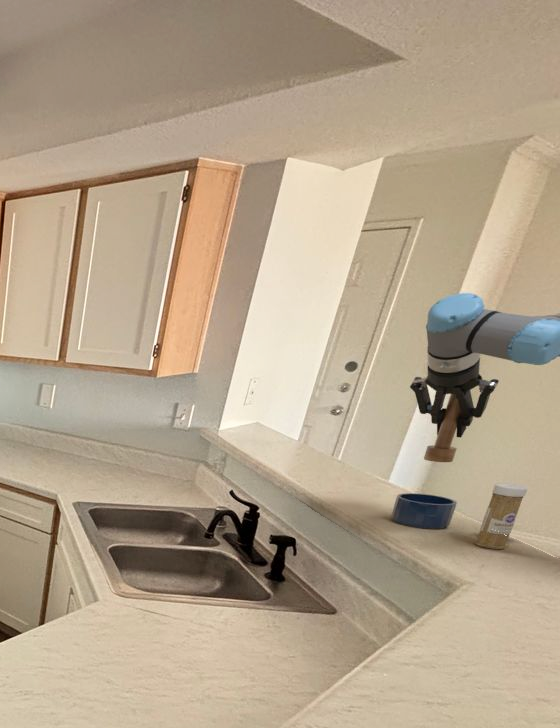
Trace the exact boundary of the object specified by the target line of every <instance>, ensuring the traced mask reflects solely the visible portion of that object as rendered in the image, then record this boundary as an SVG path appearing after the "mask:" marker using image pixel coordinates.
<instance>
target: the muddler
mask: <svg viewBox="0 0 560 728" xmlns="http://www.w3.org/2000/svg"><path fill="white" fill-rule="evenodd" d="M446 404H447V405H446V407H445V408H446V410H445V414H444V417H443V420H442V423H441V426H440V430H439V433H438V435H436V440H435V443H434V445H433V444H432V445H427V447H426V450H425V453H424V456H423V460H424V461H428V462H435V463H453V462H454V459H455V456H456V452H457V447H454V446H452V443H453V440H454V436H455V433H456V432H457V418H458V416H459V415H460V413H461V411H460V407H459V403H458V399H456V397H455V394H449V397H448V402H447V403H446Z"/></svg>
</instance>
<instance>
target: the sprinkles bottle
mask: <svg viewBox="0 0 560 728" xmlns="http://www.w3.org/2000/svg"><path fill="white" fill-rule="evenodd" d="M527 491H528V487H527V486H525V485H521V484H516V483H509V482H508V483H507V482H506V483H505V482H502V483H501V482H500V483H496V484H494V487H493V489H492V493H491V494H492V496H491V498H490V501H489V503H488V506H487V508H486V511H485V514H484V516H483V519H482V523H481V526H480V528H479V533H478V535H477V538H476V540H475V542H474V544H475V545H476V546H479V547H481V548H484V549H489V550H490V549H491V550H504V549H506V547H507V542H508V540H509V536H510V534H511V533H512V530H513V528H514V526H515V525H514V524H515V523H516V519H517V515H518V513H519V510H520V507H521V505H522V501H523V499H524V497H525V496H526V494H527ZM492 529H493V530H492ZM495 530H496V531H495ZM498 531H499V532H498ZM504 534H505V535H507V536H505V535H504Z"/></svg>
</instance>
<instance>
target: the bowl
mask: <svg viewBox="0 0 560 728" xmlns="http://www.w3.org/2000/svg"><path fill="white" fill-rule="evenodd" d="M457 504H458V501H456V500H455V499H452V498H449V497H445V496H441V495H434V494H426V493H416V492H415V493H413V492H412V493H411V492H409V493H399V494H397V496H396V498H395V502H394V504H393V508H392V511H391V515H390V518H391V519H392V521H393V522H395V523H397V524H399V525H403V526H406V527H412V528H418V529H426V530H427V529H428V530H440V529H441V530H442V529H445V528H447V527H450V526H451V522H452V519H453V515H454V513H455V510H456V507H457Z"/></svg>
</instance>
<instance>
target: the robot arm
mask: <svg viewBox="0 0 560 728" xmlns="http://www.w3.org/2000/svg"><path fill="white" fill-rule="evenodd" d="M425 329H426V337H427V347H426V348H427V349H426V350H427V351H426V353H427V376H426V377H424V378H422V377H421V376H416V377H414V379H413V381H412V382H411V384H410V386H409V388H410V389H411V390H412V391H413V392H414V394H415V398H416V403H417V407H418V410H419V413H420V414H421V415H430V419H431V423H432V424H433V425H436V436H438V433H439V430H440V426H441V423H442V420H443V417H444V414H445V410H446V407H444V402H445V399H446V395H451V394H455V397H456V399H458V403H459V407H460V411H461V413H460V415H459V416H458V418H457V428H456V438H462V437H463V435H464V433H465V431H466V430H467V427H470V426H471V424H472V422H473V420H474V418H477V419H479V418H482V417H483V414H484V412H485V410H486V409H487V405H488V403H489V400H490V397H491V394H492V393H494V391H495V389H496V388H497V385H498V384H499V382H500V381H499V379H496V378H493V379H491V380H487V379H483V376H482V375H481V374H480V364H481V363H480V362H481V355H483V356H484V355H485V356H488V357H489V356H490V357H493V358H497V359H502V360H506V361H511V362H513V363H516V364H527V365H534V366H544V365H547V364H549V363H550V362H552V361H554V360H555V359H557V358H558V357H560V313H557V314H550V315H531V316H530V315H523V314H515V313H508V312H501V311H497V310H491V309H485V304H484V299H483V298H481V297H480V296H479V295H477V294H475V293H472V292H471V293H470V292H461V293H454V294H451V295H447V296H446V297H444V298H442V299H440V300H438V301H436V303H434V304H433V305H432V306H431V307H430V309H429V310H428V313H427V321H426V324H425ZM428 386H429V387H430V388H431V389H432V390H433V391H435V394H434V400H433V404H432V400H431V396H430V392H429V388H428ZM476 387H478V390H479V393H480V394H479V396H478V399H477V402H476V406H474V401H473V397H472V393H471V390H473V389H475V388H476Z"/></svg>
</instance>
